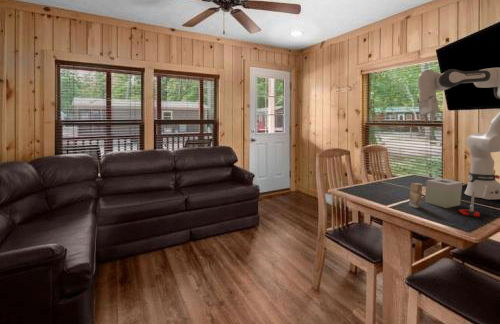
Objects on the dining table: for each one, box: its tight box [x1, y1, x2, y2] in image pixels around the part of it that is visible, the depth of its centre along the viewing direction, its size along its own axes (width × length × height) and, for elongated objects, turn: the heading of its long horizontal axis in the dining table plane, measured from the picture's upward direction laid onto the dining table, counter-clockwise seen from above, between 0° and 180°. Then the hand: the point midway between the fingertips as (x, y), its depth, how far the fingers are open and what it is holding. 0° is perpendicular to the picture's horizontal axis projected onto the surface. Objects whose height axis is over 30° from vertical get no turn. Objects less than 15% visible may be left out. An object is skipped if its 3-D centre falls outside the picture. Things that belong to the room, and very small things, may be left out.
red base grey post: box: [458, 191, 481, 218], centre depth 142 cm, size 8×13×9 cm
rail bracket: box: [408, 182, 423, 209], centre depth 154 cm, size 4×4×13 cm
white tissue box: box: [424, 177, 463, 209], centre depth 158 cm, size 12×12×13 cm
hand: (429, 120), depth 169 cm, fingers open, 8 cm apart
